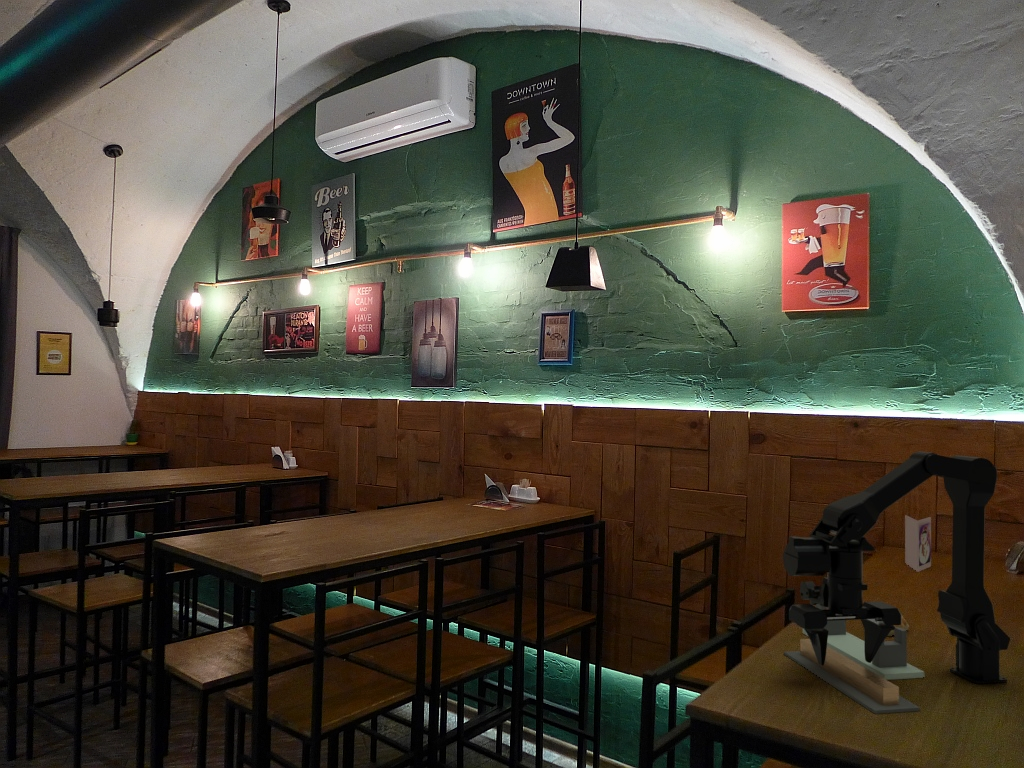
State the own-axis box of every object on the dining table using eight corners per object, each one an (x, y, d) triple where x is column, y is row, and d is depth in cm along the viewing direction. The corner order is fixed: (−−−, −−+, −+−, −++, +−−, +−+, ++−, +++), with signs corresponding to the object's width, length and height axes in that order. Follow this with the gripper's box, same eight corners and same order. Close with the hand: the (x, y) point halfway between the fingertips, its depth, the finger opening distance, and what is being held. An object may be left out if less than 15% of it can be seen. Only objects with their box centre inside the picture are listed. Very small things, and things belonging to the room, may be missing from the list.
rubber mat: (920, 710, 116) (920, 707, 116) (875, 713, 114) (875, 710, 114) (821, 652, 142) (821, 649, 142) (783, 654, 141) (783, 651, 141)
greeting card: (920, 572, 211) (920, 521, 211) (893, 568, 217) (893, 517, 217) (934, 566, 219) (934, 517, 219) (907, 562, 224) (907, 514, 225)
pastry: (896, 641, 150) (896, 622, 151) (862, 633, 155) (862, 615, 155) (910, 631, 157) (910, 613, 157) (877, 624, 162) (877, 607, 162)
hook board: (924, 677, 130) (924, 635, 130) (884, 679, 129) (884, 637, 129) (836, 631, 155) (836, 596, 156) (802, 633, 154) (802, 597, 154)
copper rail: (898, 704, 117) (898, 687, 117) (883, 705, 116) (883, 688, 116) (813, 653, 141) (813, 638, 141) (800, 653, 140) (800, 639, 140)
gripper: (863, 563, 138) (863, 645, 138) (772, 566, 135) (772, 650, 135) (903, 577, 127) (903, 667, 127) (806, 581, 124) (806, 672, 124)
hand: (844, 663), depth 128 cm, fingers open, 9 cm apart
